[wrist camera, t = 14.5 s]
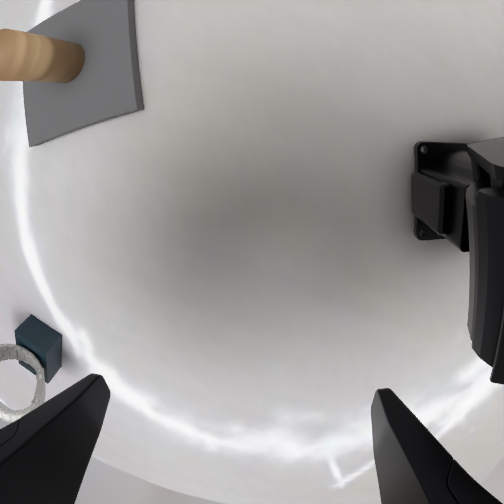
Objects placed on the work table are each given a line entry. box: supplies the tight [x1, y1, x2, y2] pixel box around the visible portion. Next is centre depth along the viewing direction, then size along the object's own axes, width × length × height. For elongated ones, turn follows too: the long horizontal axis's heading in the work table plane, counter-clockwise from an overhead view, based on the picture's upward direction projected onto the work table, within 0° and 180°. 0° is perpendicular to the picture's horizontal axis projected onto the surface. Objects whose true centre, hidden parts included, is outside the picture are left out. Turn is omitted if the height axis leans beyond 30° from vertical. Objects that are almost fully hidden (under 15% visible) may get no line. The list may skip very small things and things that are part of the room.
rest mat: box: [23, 0, 144, 147], centre depth 16 cm, size 10×10×1 cm
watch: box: [0, 315, 62, 423], centre depth 22 cm, size 6×8×11 cm
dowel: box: [0, 29, 85, 83], centre depth 12 cm, size 3×3×7 cm
